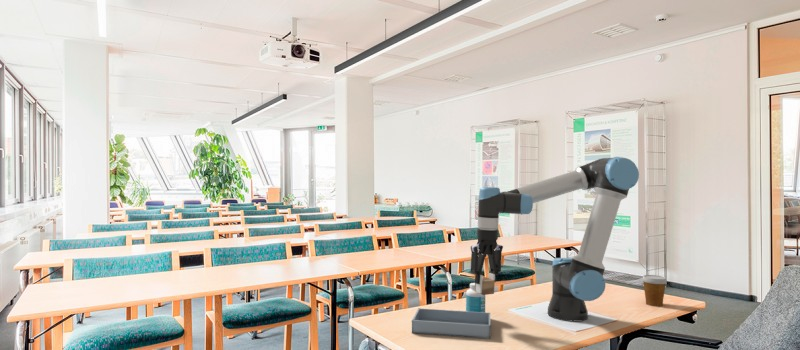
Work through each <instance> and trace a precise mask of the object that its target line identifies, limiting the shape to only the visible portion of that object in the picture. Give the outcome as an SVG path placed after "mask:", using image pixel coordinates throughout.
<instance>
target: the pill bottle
mask: <svg viewBox="0 0 800 350" xmlns="http://www.w3.org/2000/svg"><path fill="white" fill-rule="evenodd" d="M465 295H466V296H465V298H466V299H465V302H466V303H465V311H469V312H485V313H486V295H482V294H480V293H477V292H475V282H471V283H469V289H467V290H466V293H465Z"/></svg>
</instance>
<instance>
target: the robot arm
mask: <svg viewBox="0 0 800 350" xmlns="http://www.w3.org/2000/svg"><path fill="white" fill-rule="evenodd" d="M639 171H640V170H639V169H638V167H637V164H636V163H635V161H632V160H631V159H629V158H627V157H622V156H614V157H603V158H598V159H596V160H593V161H591V162H588V163H585V164H583V165H579V166H577V167H575V169H574V170H573V171H570V172H569V171H568V172H566V173H563V174H560V175H556V176H553V177H551V178H547V179H544V180H540V181H537V182H534V183H531V184H527V185H524V186H521V187H517V188H515V189H511V190H507V191H501V188H500V187H498V186H497V187H494V186H481V187H479V191H478V192H479V193H478V194H479V195H478V199H477V200H478V208H477V209H478V213H477V215H478V216H477V232H476V239H477V242H476V244H475V245H471V246H470V251H471V254H470V255H471V256H470V258H471V259H470V273H472V274H474V283H476V292H478V293H482V282H483V277H484V275H483V274H482V271H483V268H484V263H485V260H486V257H488V258H487V259H488V264H489V271H490V272H489V273H488V276H487V278H489V279H492V280H495V283H496V282H497V275H498V274H499V273H501V271H502V252H503V248H504V245H501V244H498V239H499V230H498V229H499V220H500V219H499V218H500V216H499V215H500V214H512V215H514V214H515V215H530V214H531V213H532V211H533V206H534V204H536V203H539V202H541V201H546V200H548V199H552V198H555V197H558V196H561V195H564V194H565V195H566V194H569V193H572V192H575V191H578V190H582V191H587V190H591V189H593V190H594V191H595V197H594V201H593V205H592V207H591V211H590V214H589V218H588V221H587V224H586V227H585V231H584V234H583V237H582V240H581V244H580V247H579V250H578V254H577V255H575V256H573V257H555V258H554V259H553V260H552V266H551V268H552V286H551V287H552V291H551V292H552V293H551V297H550V301H549V303H548V306H547V314H548V316H549V315H550V317H552V318H554V319H557V320H561V319H562V321H567V320H572V321H571V322H575V321H574V320H582V321H585V320H584V319H586V320H587V319H588V317H589V311H588V309H587V305H586V303H585V302H591V301H595V300H597V299H599V298H600V297H602V295H603V294H604V292H605V290H606V280H605V277H604V273H605V269H606V267H605V266H604V264H603V261H604V257H605V254H606V251H607V249H608V248H607V246H608V244H609V242H610V238H611V234H612V230H613V227H614V224H615V221H616V219H617V218H616V217H617V215H618V211H619V208H620V205H621V201H622V200H624V199H626V198H627V197H628V194H629V190H630V189H632V188H633V187H634V186H635V185H636V184H637V183H638V182H639V178H640V177H639V176H640V172H639Z"/></svg>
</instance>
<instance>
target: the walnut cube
mask: <svg viewBox="0 0 800 350" xmlns="http://www.w3.org/2000/svg"><path fill="white" fill-rule="evenodd" d="M474 283H475V282H474ZM495 283H496V282H495V280H492V279H489V278H488V276H486V277H485V276H483V282H482V293H480V294H482V295H485V296H486V295H495V285H496V284H495ZM475 292H476V283H475ZM477 293H478V292H477Z"/></svg>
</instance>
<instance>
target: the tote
mask: <svg viewBox="0 0 800 350" xmlns="http://www.w3.org/2000/svg"><path fill="white" fill-rule="evenodd" d="M412 317H413V318H412V319H411V334H416V333H417V335H418V334H419V335H432V336H445V337H446V336H447V337H458V338H459V337H460V338H472V339H473V338H474V339H487V340H490V339H491V312H486V311H485V312H469V311H466V310H452V309H451V310H450V309H435V308H433V309H432V308H421V307H419V308H418V309H417V310H416V312H415V314H414V316H412Z"/></svg>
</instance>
